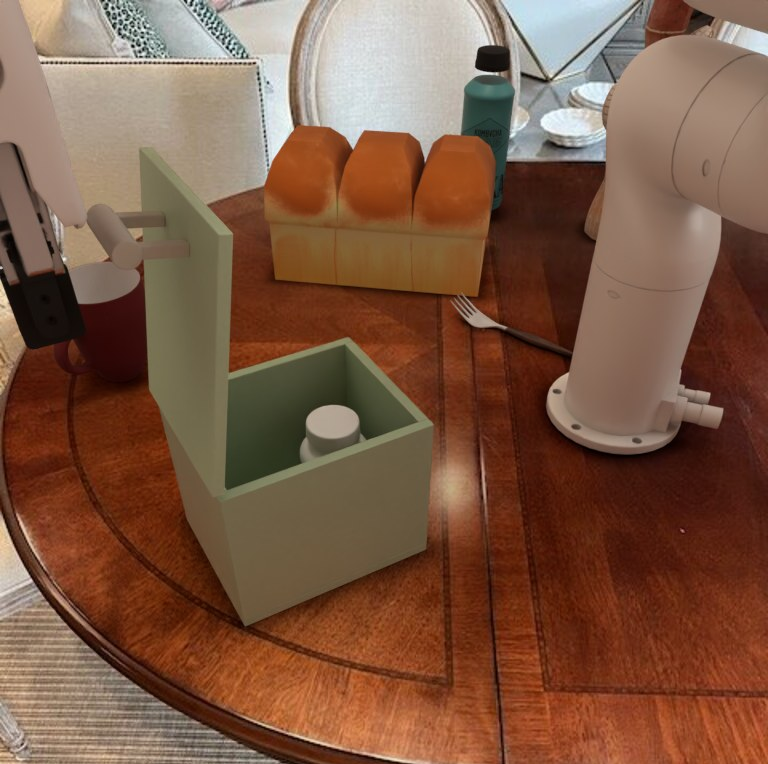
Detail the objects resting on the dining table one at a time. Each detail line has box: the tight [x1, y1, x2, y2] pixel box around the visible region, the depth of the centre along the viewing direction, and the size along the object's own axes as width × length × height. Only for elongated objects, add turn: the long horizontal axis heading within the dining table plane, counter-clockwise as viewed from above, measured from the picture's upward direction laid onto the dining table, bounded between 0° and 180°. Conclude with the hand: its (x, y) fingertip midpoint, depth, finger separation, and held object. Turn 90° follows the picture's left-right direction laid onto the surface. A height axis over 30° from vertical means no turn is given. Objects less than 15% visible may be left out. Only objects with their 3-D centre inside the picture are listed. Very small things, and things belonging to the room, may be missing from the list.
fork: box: [449, 293, 573, 358], centre depth 84 cm, size 3×16×2 cm, turn 52°
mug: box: [53, 261, 148, 383], centre depth 75 cm, size 11×8×10 cm
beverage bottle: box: [459, 44, 516, 211], centre depth 99 cm, size 6×7×20 cm
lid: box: [86, 146, 234, 497], centre depth 46 cm, size 16×13×5 cm
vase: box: [583, 0, 715, 241], centre depth 92 cm, size 10×7×30 cm
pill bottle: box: [300, 405, 367, 464], centre depth 61 cm, size 5×5×10 cm
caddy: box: [158, 336, 435, 627], centre depth 59 cm, size 16×13×13 cm
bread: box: [263, 124, 496, 298], centre depth 91 cm, size 25×12×15 cm, turn 81°
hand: (54, 335), depth 43 cm, fingers closed
